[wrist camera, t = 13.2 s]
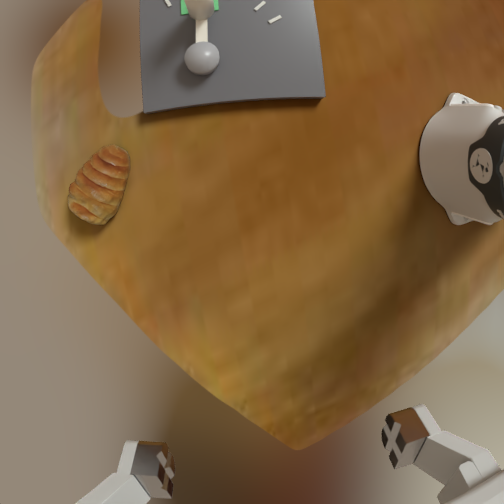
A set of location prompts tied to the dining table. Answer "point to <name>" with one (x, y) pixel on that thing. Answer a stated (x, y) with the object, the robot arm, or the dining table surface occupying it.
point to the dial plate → (230, 53)
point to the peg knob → (201, 39)
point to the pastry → (100, 185)
